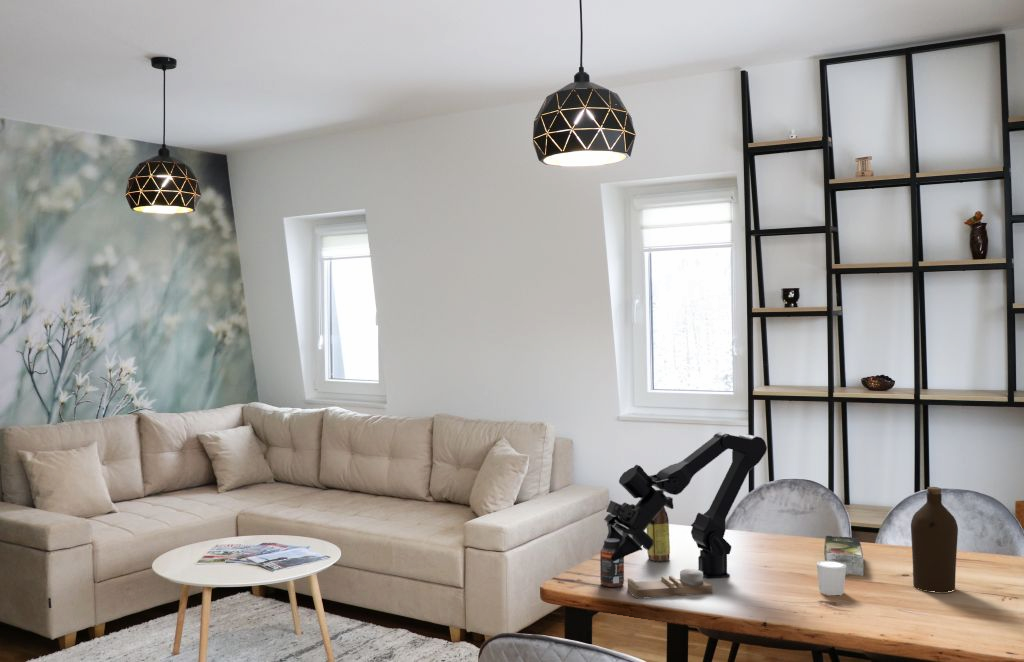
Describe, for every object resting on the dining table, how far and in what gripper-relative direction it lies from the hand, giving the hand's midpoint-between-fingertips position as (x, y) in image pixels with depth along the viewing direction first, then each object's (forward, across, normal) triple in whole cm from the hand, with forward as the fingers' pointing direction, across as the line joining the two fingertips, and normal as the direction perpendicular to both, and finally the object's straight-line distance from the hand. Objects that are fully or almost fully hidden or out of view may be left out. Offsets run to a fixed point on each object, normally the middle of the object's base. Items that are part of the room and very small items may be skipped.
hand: (606, 556), depth 223 cm
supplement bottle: (+4, 0, +6) cm, 7 cm away
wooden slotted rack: (-4, +10, +14) cm, 17 cm away
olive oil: (-49, +27, +60) cm, 82 cm away
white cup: (-30, +22, +41) cm, 55 cm away
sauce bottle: (-11, -18, +22) cm, 30 cm away
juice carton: (-43, +3, +54) cm, 69 cm away
